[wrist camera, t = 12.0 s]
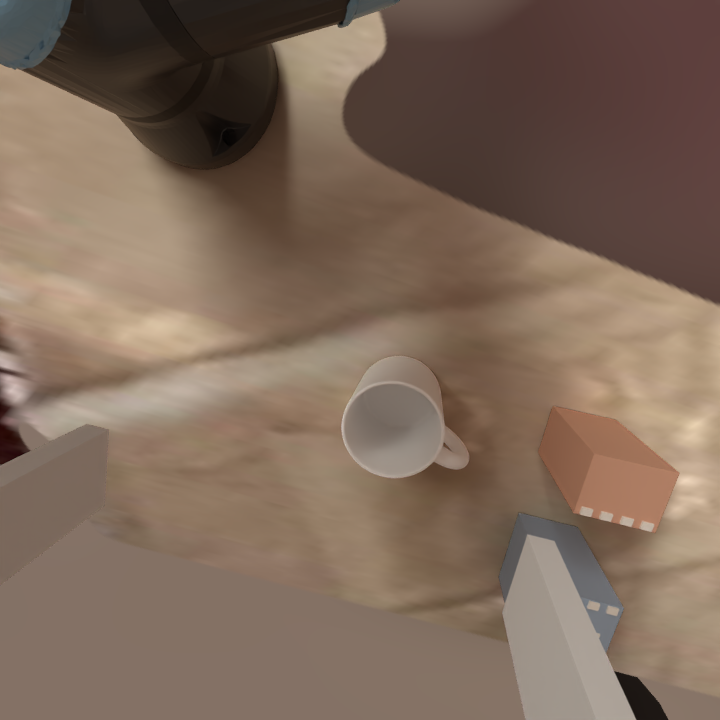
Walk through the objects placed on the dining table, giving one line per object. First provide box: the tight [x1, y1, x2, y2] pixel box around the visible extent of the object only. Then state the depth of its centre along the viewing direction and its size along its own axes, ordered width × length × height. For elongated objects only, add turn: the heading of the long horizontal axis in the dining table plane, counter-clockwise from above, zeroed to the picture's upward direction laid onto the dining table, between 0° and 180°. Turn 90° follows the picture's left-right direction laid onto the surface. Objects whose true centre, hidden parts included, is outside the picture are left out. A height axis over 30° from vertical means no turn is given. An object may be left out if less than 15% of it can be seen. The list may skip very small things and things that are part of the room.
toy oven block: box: [499, 513, 624, 653], centre depth 41 cm, size 8×6×11 cm
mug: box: [341, 356, 469, 478], centre depth 40 cm, size 12×8×10 cm
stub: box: [538, 406, 679, 533], centre depth 38 cm, size 5×6×11 cm
